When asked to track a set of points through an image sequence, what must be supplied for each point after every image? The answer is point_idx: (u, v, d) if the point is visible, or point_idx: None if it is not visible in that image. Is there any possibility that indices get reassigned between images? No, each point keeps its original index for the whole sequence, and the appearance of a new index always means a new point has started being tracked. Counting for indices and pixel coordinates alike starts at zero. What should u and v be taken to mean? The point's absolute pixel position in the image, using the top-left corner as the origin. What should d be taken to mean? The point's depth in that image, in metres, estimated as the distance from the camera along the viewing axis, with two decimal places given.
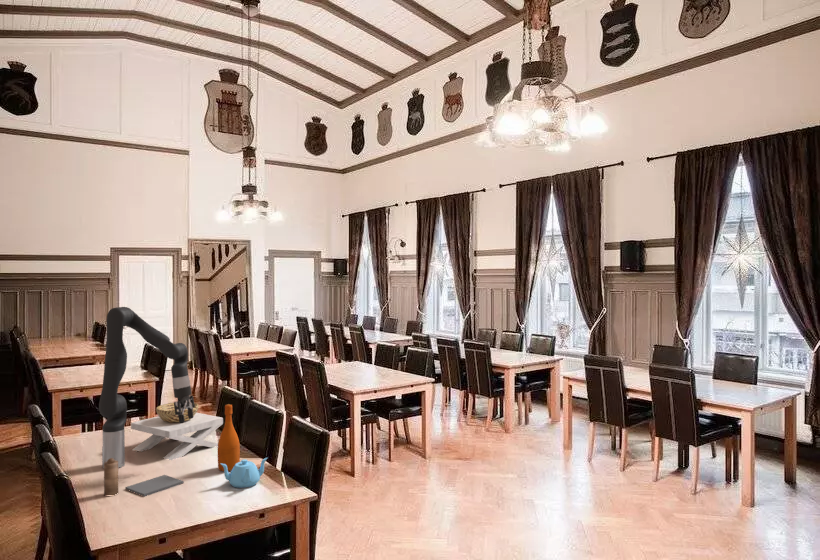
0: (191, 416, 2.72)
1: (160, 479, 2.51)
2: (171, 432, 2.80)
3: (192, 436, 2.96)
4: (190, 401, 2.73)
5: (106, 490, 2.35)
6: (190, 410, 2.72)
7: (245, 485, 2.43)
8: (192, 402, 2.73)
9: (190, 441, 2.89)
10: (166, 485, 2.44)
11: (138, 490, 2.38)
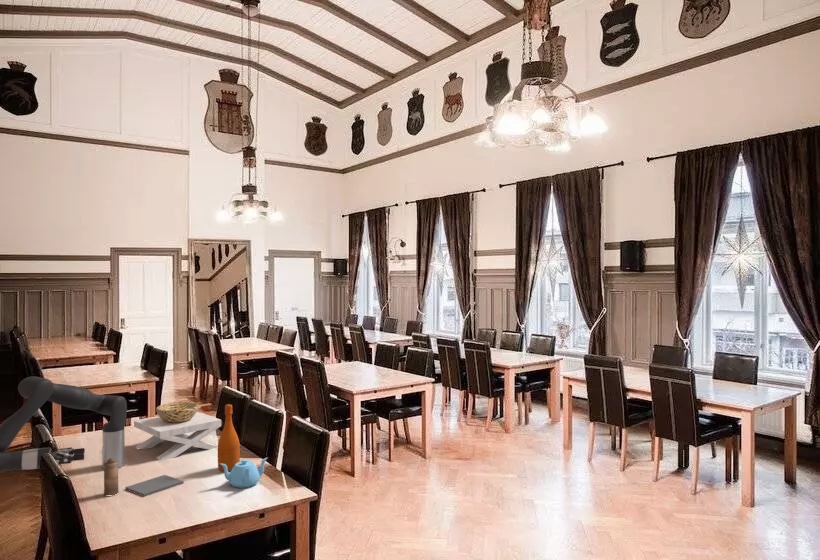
0: None
1: (160, 479, 2.51)
2: (162, 432, 2.80)
3: (188, 437, 2.94)
4: None
5: (106, 490, 2.35)
6: None
7: (245, 485, 2.43)
8: None
9: (183, 442, 2.87)
10: (166, 485, 2.44)
11: (138, 490, 2.38)
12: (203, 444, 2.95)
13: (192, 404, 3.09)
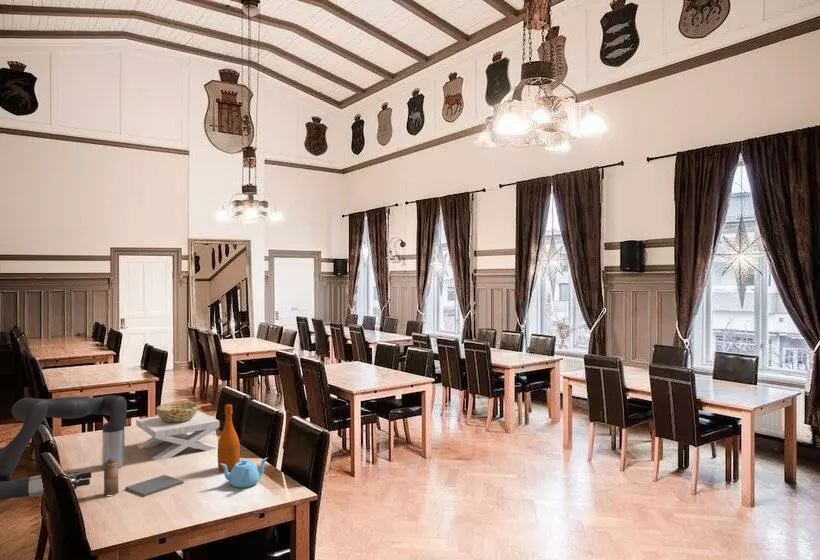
0: None
1: (160, 479, 2.51)
2: (157, 432, 2.80)
3: (186, 437, 2.93)
4: None
5: (106, 490, 2.35)
6: None
7: (245, 485, 2.43)
8: None
9: (180, 442, 2.87)
10: (166, 485, 2.44)
11: (138, 490, 2.38)
12: (200, 445, 2.93)
13: (193, 404, 3.08)
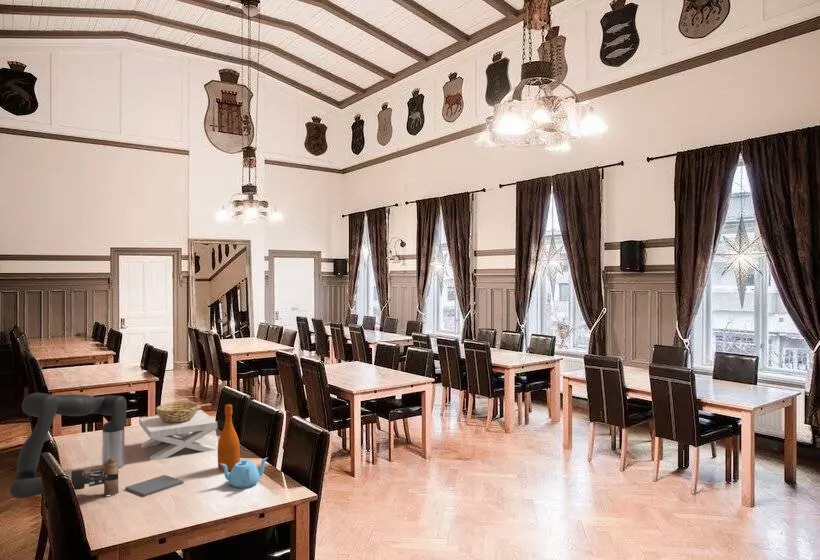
0: None
1: (160, 479, 2.51)
2: (152, 432, 2.80)
3: (184, 438, 2.93)
4: None
5: (106, 490, 2.35)
6: None
7: (245, 485, 2.43)
8: None
9: (176, 443, 2.86)
10: (166, 485, 2.44)
11: (138, 490, 2.38)
12: (197, 446, 2.92)
13: (194, 404, 3.07)
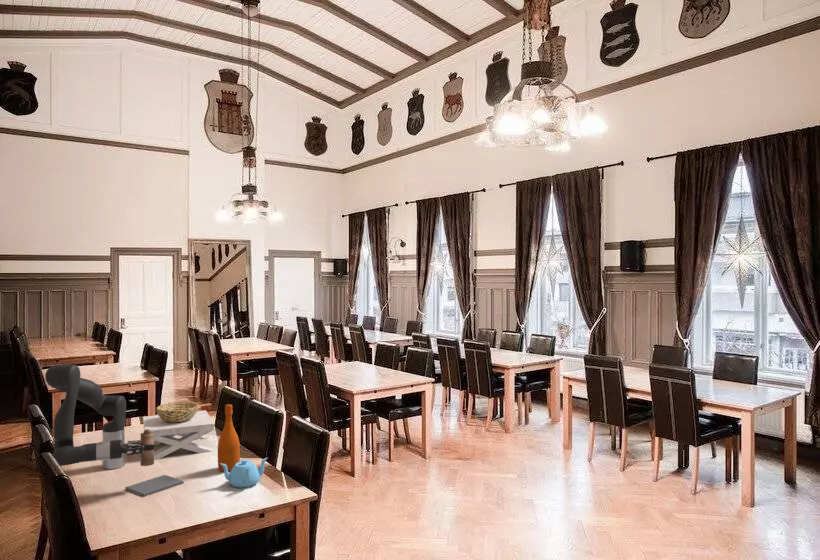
0: None
1: (160, 479, 2.51)
2: None
3: (181, 438, 2.92)
4: None
5: (143, 460, 2.41)
6: None
7: (245, 485, 2.43)
8: None
9: (171, 443, 2.85)
10: (166, 485, 2.44)
11: (138, 490, 2.38)
12: (193, 447, 2.90)
13: (195, 405, 3.07)
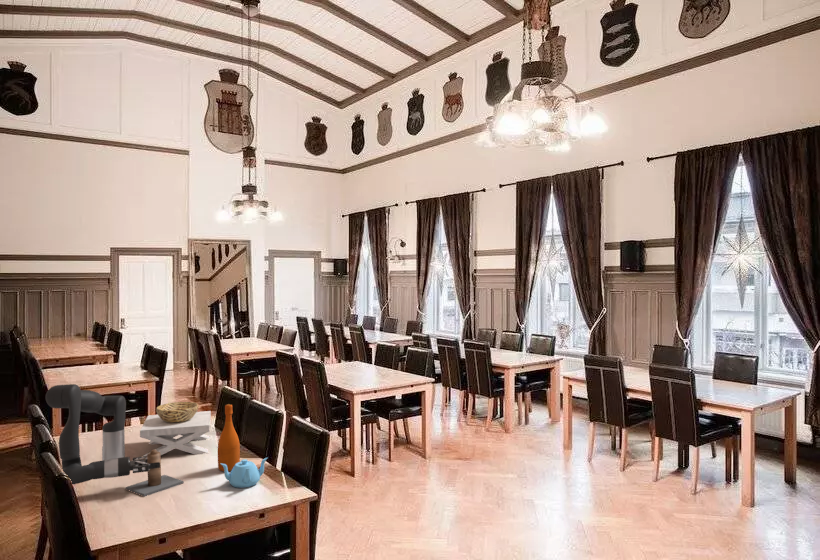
0: None
1: None
2: (142, 431, 2.82)
3: (177, 439, 2.91)
4: None
5: (150, 480, 2.43)
6: None
7: (245, 485, 2.43)
8: None
9: (166, 443, 2.85)
10: (166, 485, 2.44)
11: (138, 490, 2.38)
12: (188, 448, 2.88)
13: (195, 405, 3.05)
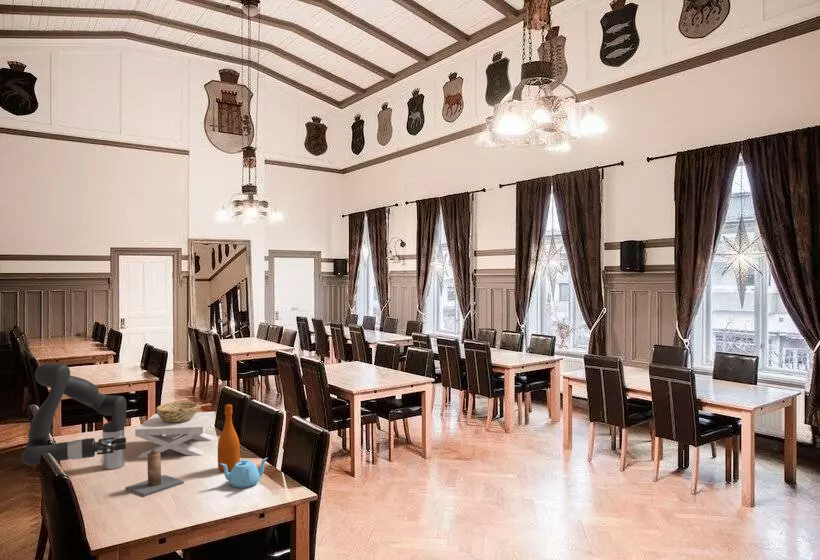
0: None
1: None
2: (137, 430, 2.84)
3: (173, 439, 2.91)
4: None
5: (150, 480, 2.43)
6: None
7: (245, 485, 2.43)
8: None
9: (160, 443, 2.85)
10: (166, 485, 2.44)
11: (138, 490, 2.38)
12: (182, 449, 2.87)
13: (195, 406, 3.04)
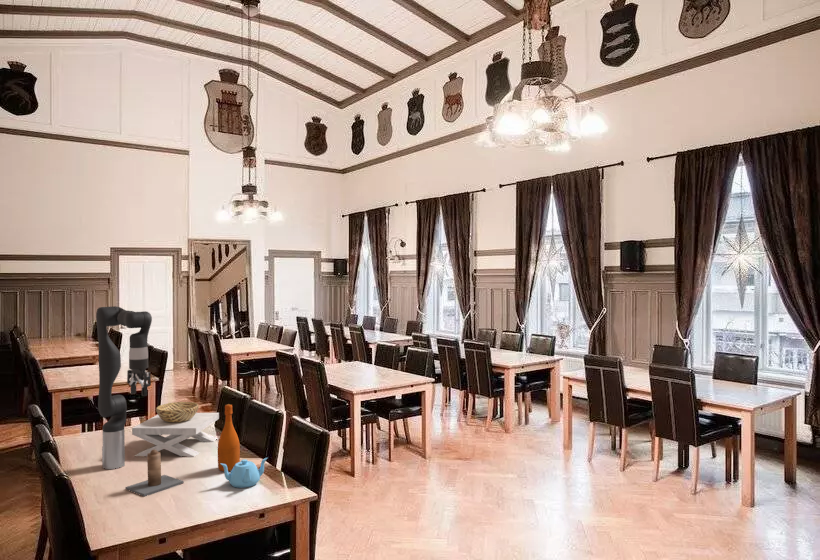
0: None
1: None
2: (134, 429, 2.86)
3: (169, 439, 2.91)
4: None
5: (150, 480, 2.43)
6: None
7: (245, 485, 2.43)
8: (144, 380, 2.46)
9: (155, 443, 2.86)
10: (166, 485, 2.44)
11: (138, 490, 2.38)
12: (176, 450, 2.85)
13: None
